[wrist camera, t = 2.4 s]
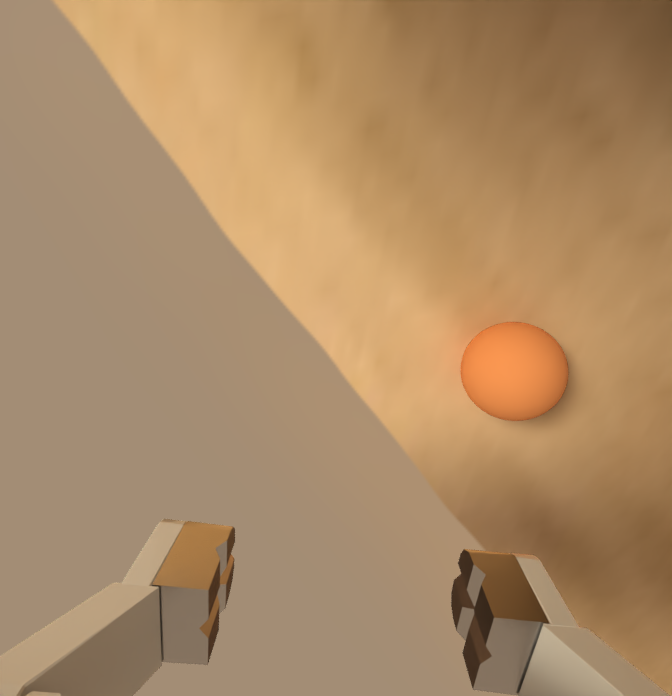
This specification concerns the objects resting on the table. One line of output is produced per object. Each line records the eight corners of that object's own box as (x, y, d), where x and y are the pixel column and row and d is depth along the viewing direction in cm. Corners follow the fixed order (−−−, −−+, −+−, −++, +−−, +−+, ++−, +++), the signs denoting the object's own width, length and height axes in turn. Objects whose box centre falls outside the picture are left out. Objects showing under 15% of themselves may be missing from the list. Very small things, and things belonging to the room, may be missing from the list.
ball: (442, 391, 26) (467, 434, 21) (459, 308, 24) (491, 331, 19) (526, 399, 26) (573, 444, 21) (549, 317, 24) (605, 343, 19)
